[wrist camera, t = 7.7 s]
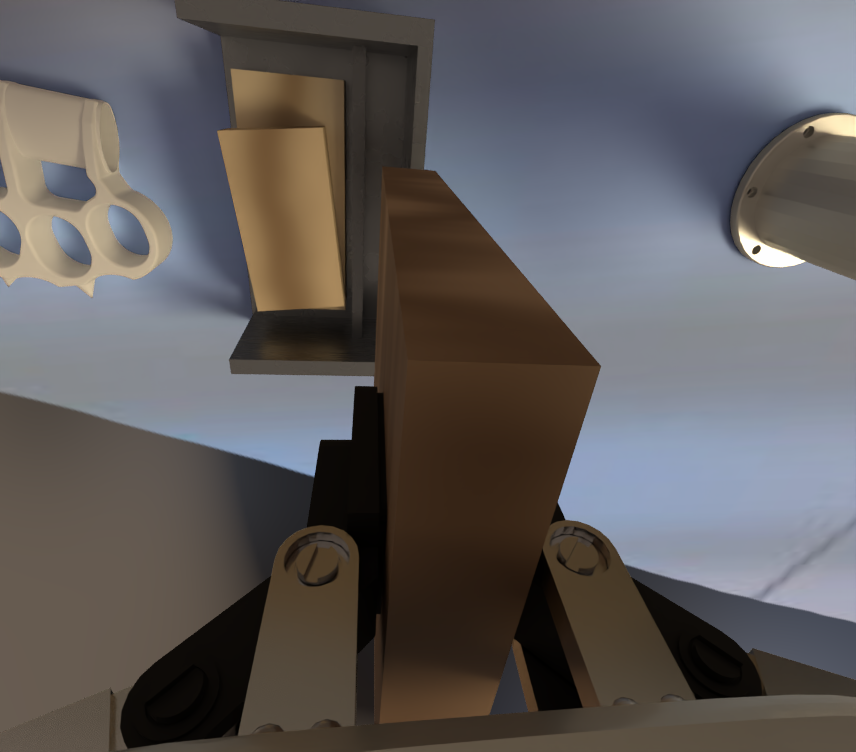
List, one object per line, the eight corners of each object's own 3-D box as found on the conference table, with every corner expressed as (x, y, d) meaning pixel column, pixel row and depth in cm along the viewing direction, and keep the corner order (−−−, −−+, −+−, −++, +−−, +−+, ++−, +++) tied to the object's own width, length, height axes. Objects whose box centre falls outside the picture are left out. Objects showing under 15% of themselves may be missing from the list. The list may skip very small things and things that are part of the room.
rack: (418, 38, 32) (434, 19, 24) (401, 326, 43) (408, 376, 36) (222, 15, 31) (172, -13, 23) (257, 321, 42) (231, 373, 34)
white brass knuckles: (165, 112, 33) (178, 301, 40) (-137, 48, 30) (-65, 268, 37) (146, 113, 30) (164, 317, 38) (-192, 43, 27) (-102, 282, 34)
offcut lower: (345, 81, 32) (344, 80, 30) (346, 298, 40) (345, 310, 38) (240, 70, 31) (230, 68, 29) (262, 295, 39) (256, 306, 37)
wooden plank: (435, 170, 18) (600, 365, 5) (415, 392, 23) (469, 776, 10) (382, 166, 17) (408, 359, 5) (373, 391, 22) (374, 784, 10)
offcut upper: (325, 125, 31) (322, 127, 29) (345, 294, 37) (343, 306, 35) (227, 128, 31) (217, 130, 29) (264, 298, 37) (258, 311, 35)
